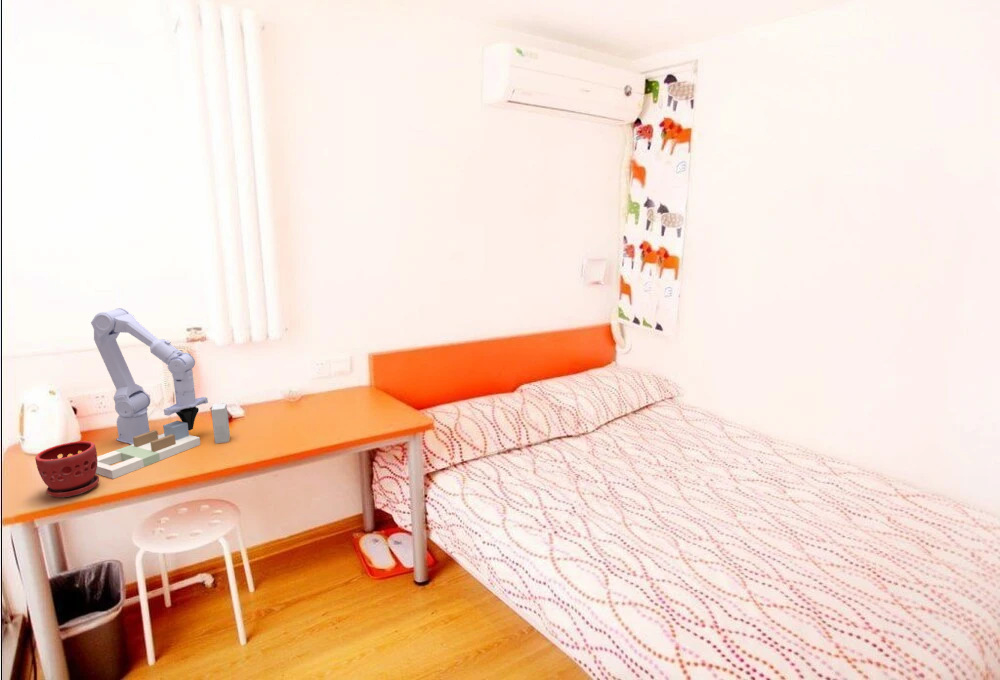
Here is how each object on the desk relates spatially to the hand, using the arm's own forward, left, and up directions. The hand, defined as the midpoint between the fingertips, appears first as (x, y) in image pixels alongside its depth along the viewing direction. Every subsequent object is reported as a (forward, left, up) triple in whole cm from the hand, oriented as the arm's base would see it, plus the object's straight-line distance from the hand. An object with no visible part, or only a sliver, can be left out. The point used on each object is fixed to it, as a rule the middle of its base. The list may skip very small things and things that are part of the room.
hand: (189, 429), depth 191 cm
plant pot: (+4, -39, -4) cm, 39 cm away
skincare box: (+10, +4, -4) cm, 12 cm away
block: (0, -5, -1) cm, 5 cm away
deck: (0, -16, -4) cm, 16 cm away
